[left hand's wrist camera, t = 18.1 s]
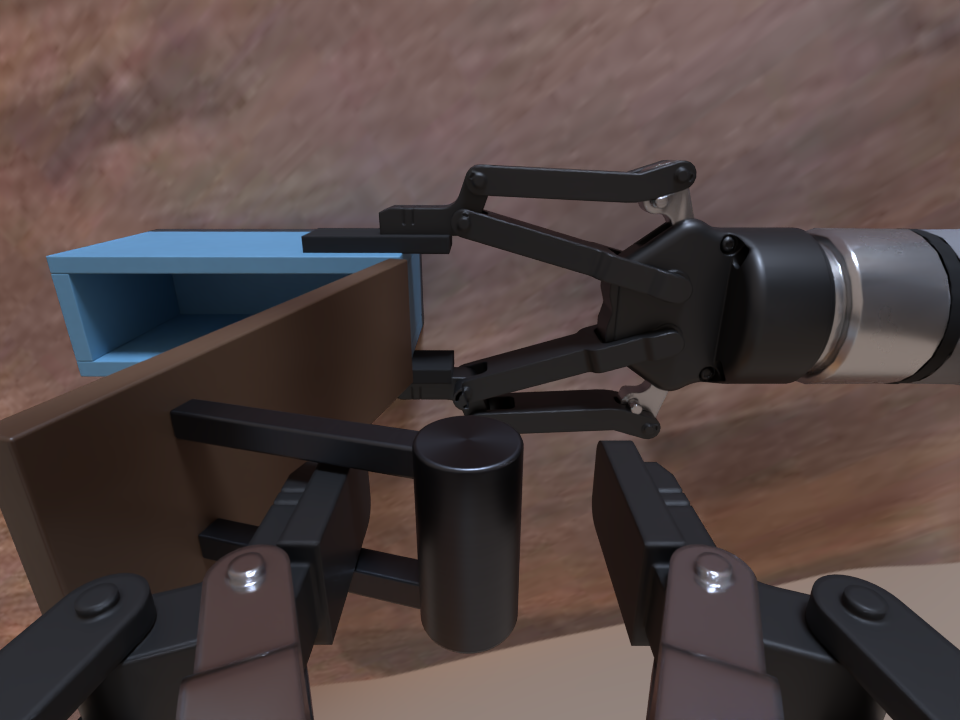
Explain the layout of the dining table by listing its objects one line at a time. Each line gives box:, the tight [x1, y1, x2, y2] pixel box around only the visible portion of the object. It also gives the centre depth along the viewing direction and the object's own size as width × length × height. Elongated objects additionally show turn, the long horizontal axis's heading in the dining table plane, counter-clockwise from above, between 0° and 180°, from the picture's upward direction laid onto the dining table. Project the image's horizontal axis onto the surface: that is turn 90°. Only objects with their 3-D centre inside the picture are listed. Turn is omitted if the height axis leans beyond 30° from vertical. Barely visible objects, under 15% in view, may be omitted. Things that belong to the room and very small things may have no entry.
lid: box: [0, 259, 524, 654], centre depth 15 cm, size 16×6×8 cm
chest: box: [46, 229, 424, 376], centre depth 28 cm, size 15×6×9 cm, turn 90°
